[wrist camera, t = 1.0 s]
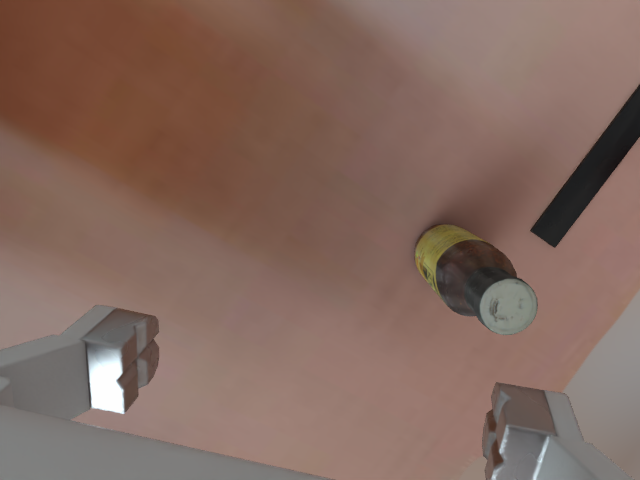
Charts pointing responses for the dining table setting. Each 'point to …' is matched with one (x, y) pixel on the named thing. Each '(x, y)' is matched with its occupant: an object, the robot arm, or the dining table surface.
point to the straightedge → (591, 173)
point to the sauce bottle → (475, 279)
